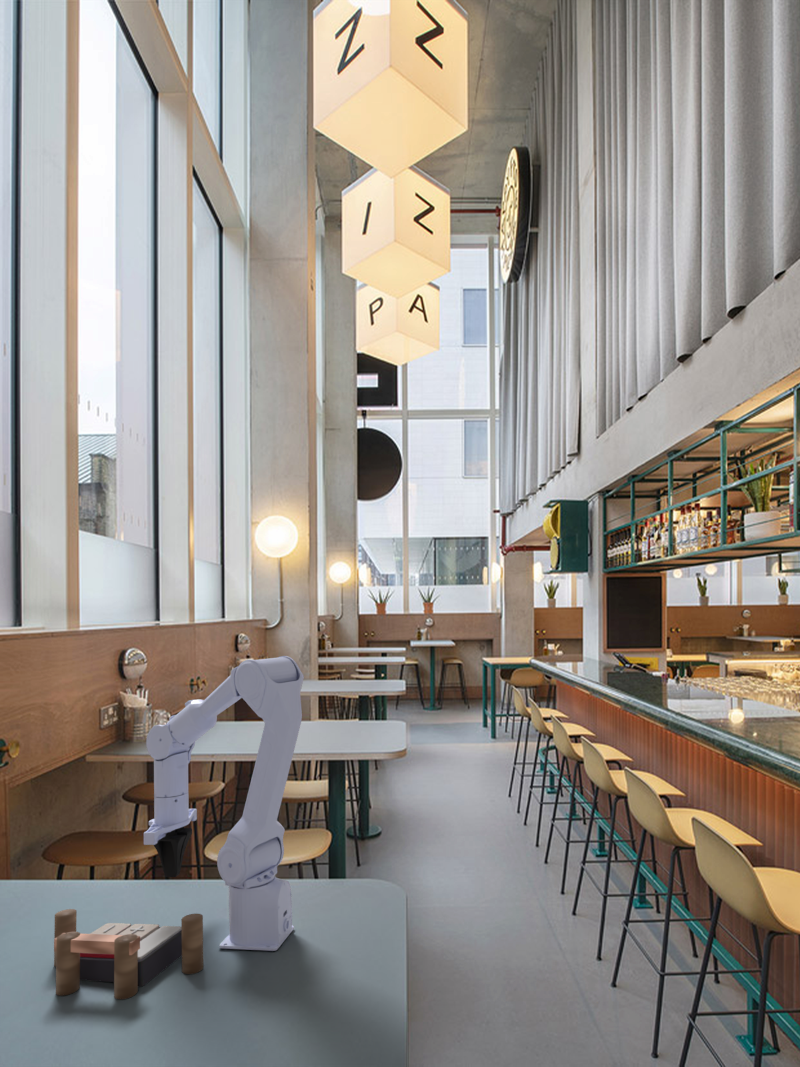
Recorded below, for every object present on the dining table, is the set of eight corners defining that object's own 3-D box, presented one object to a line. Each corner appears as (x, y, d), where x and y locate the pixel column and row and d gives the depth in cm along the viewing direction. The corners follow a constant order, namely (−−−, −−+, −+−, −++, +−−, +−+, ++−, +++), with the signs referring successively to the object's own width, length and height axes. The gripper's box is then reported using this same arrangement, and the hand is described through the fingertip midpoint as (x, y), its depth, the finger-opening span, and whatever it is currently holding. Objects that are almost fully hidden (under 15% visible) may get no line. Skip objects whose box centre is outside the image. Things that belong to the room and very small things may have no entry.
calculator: (106, 919, 111) (187, 922, 107) (107, 948, 111) (188, 951, 106) (54, 951, 101) (141, 955, 96) (55, 983, 100) (142, 988, 96)
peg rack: (207, 964, 101) (206, 913, 102) (170, 1002, 91) (169, 946, 92) (63, 956, 106) (63, 908, 107) (13, 992, 96) (14, 939, 97)
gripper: (171, 784, 128) (172, 860, 127) (126, 804, 114) (126, 891, 113) (206, 783, 127) (208, 861, 125) (165, 804, 113) (166, 892, 111)
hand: (172, 875), depth 119 cm, fingers closed
